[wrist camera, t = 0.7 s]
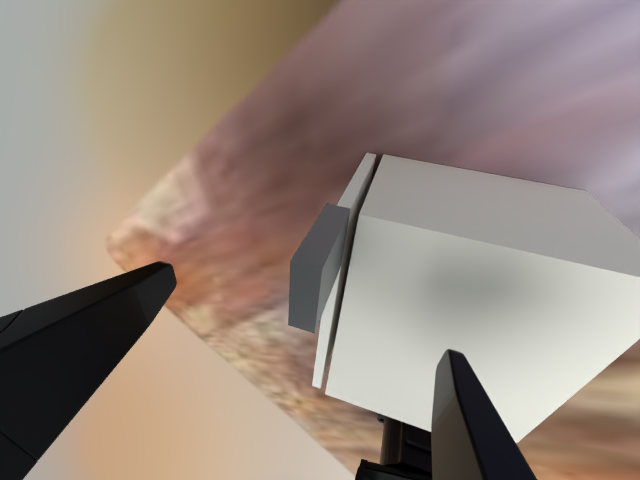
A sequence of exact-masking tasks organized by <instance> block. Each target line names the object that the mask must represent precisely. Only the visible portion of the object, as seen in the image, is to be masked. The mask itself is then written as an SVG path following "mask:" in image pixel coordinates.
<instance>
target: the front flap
mask: <svg viewBox="0 0 640 480" xmlns="http://www.w3.org/2000/svg"><path fill="white" fill-rule="evenodd" d="M375 159H376V154H371V153H366V155H365V156H364V158H363V160H362V162H361V163H360V165H359V167H358V169H357V170H356V172H355V174H354V176H353V177H352V179H351V181H350V183H349V184H348V186H347V188H346V190H345V191H344V193H343V195H342V197H341V198H340V200H339V202H338V204H337V205H332V204H328V203H327V204H326V206H325V207H324V209H323V211H322V212H321V214H320V215H319V217H318V218H317V220H316V222H315V223H314V225H313V226H312V228H311V229H310V231H309V232H308V234H307V236H306V237H305V239H304V240H303V242H302V243H301V245H300V247H299V248H298V250H297V251H296V253H295V254H294V256H293V258H292V259H291V261H290V290H289V319H288V325H290V326H293V327H296V328H300V329H303V330H306V331H309V332H312V333H315V331H316V329H317V326H318V323H319V321H320V318H321V324H320V331H319V338H318V346H317V353H316V361H315V368H314V376H313V383H312V386H315V387H317V388H320V389H321V385H322V382H323V379H324V376H325V373H326V369H327V366H328V363H329V360H330V357H331V353H332V350H333V347H334V344H335V339H336V334H337V328H338V323H339V318H340V313H341V307H342V302H343V297H344V291H345V286H346V281H347V276H348V270H349V265H350V260H351V254H352V249H353V244H354V239H355V233H356V228H357V223H358V217H359V213H360V211H361V208H362V206H363V203H364V201H365V198H366V196H367V194H368V191H369V189H370V184H371V179H372V174H373V169H374V164H375Z"/></svg>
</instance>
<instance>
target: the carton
mask: <svg viewBox="0 0 640 480" xmlns="http://www.w3.org/2000/svg"><path fill="white" fill-rule="evenodd" d="M639 339H640V239H639V238H638V237H637V236H636V235H635V234H634V233H632V232H631V231H630V230H629V229H628V228H627V227H626V226H625V225H624V224H622V223H621V222H620V221H619V220H618V219H617V218H616V217H615V216H613V215H612V214H611V213H610V212H609V211H608V210H607V209H606V208H605V207H603V206H602V205H601V204H600V203H599V202H598V201H597V200H596V199H594V198H593V197H592V196H591V195H590V194H589V193H588V192H587V191H584V190H578V189H573V188H567V187H562V186H556V185H550V184H545V183H539V182H534V181H528V180H523V179H517V178H512V177H506V176H500V175H495V174H489V173H484V172H478V171H473V170H467V169H462V168H456V167H451V166H445V165H439V164H434V163H428V162H423V161H417V160H412V159H406V158H401V157H395V156H390V155H384V154H383V157H382V159H381V161H380V164H379V166H378V169H377V171H376V174H375V176H374V179H373V181H372V184H371V186H370V189H369V191H368V194H367V196H366V198H365V201H364V203H363V206H362V208H361V211H360V213H359V217H358V223H357V228H356V233H355V239H354V244H353V249H352V254H351V260H350V265H349V270H348V276H347V281H346V286H345V291H344V297H343V302H342V307H341V313H340V318H339V323H338V328H337V334H336V339H335V344H334V350H333V355H332V360H331V365H330V371H329V376H328V381H327V387H326V392H325V394H326V395H329V396H332V397H335V398H337V399H340V400H343V401H346V402H349V403H351V404H354V405H357V406H360V407H363V408H365V409H368V410H371V411H374V412H377V413H379V414H382V415H385V416H388V417H390V418H393V419H396V420H399V421H402V422H404V423H407V424H410V425H413V426H416V427H418V428H421V429H424V430H427V431H430V432H431V423H432V410H433V397H434V385H435V373H436V368H437V365H438V363H439V361H440V359H441V358H442V356H443V354H444V353H445V351H446V350H447V349H452V350H455V351H459V352H461V353H463V354H464V355H465V357H466V358H467V360H468V362H469V364H470V365H471V367H472V369H473V370H474V372H475V374H476V376H477V377H478V379H479V381H480V382H481V384H482V386H483V388H484V389H485V391H486V393H487V395H488V396H489V398H490V400H491V401H492V403H493V405H494V407H495V408H496V410H497V412H498V413H499V415H500V417H501V419H502V420H503V422H504V424H505V425H506V427H507V429H508V431H509V432H510V434H511V436H512V437H513V439H514V441H515V443H517V442H519V441H520V440H521V439H522V438H523V437H524V436H526V435H527V434H528V433H529V432H530V431H532V430H533V429H534V428H535V427H536V426H537V425H539V424H540V423H541V422H542V421H543V420H544V419H546V418H547V417H548V416H549V415H550V414H552V413H553V412H554V411H555V410H556V409H557V408H559V407H560V406H561V405H562V404H563V403H564V402H566V401H567V400H568V399H569V398H570V397H572V396H573V395H574V394H575V393H576V392H577V391H579V390H580V389H581V388H582V387H583V386H584V385H586V384H587V383H588V382H589V381H590V380H592V379H593V378H594V377H595V376H596V375H597V374H599V373H600V372H601V371H602V370H603V369H605V368H606V367H607V366H608V365H609V364H610V363H612V362H613V361H614V360H615V359H616V358H617V357H619V356H620V355H621V354H622V353H623V352H625V351H626V350H627V349H628V348H629V347H630V346H632V345H633V344H634V343H635V342H636V341H637V340H639Z"/></svg>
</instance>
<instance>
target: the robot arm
mask: <svg viewBox="0 0 640 480" xmlns="http://www.w3.org/2000/svg"><path fill="white" fill-rule="evenodd" d="M176 284H177V281H176V277H175V273H174V269H173V266H172V265H171V264H169V263H166V262H163V261H158V262H155V263H152V264H149V265H146V266H144V267H141V268H138V269H135V270H132V271H130V272H127V273H124V274H121V275H118V276H115V277H113V278H110V279H107V280H104V281H101V282H99V283H96V284H93V285H90V286H88V287H84V288H82V289H79V290H76V291H73V292H70V293H68V294H65V295H62V296H59V297H57V298H54V299H51V300H48V301H45V302H42V303H40V304H37V305H34V306H31V307H28V308H26V309H24V310H20V311H17V312H14V313H11V314H9V315H6V316H3V317H0V480H23V479H24V477H25V476H26V475H27V474H28V473H29V471H30V470H31V469H32V468H33V466H34V465H35V464H36V463H37V461H38V460H39V459H40V457H42V455H43V454H44V453H45V452H46V450H47V449H48V448H49V447H50V446H51V444H52V443H53V442H54V441H55V440H56V438H57V437H58V436H59V435H60V433H61V432H62V431H63V430H64V429H65V427H66V426H67V425H68V424H69V422H70V421H71V420H72V419H73V418H74V417H75V415H76V414H77V413H78V412H79V411H80V409H81V408H82V407H83V406H84V404H85V403H86V402H87V401H88V400H89V398H90V397H91V396H92V395H93V394H94V392H95V391H96V390H97V389H98V388H99V386H100V385H101V384H102V383H103V381H104V380H105V379H106V378H107V377H108V375H109V374H110V373H111V372H112V371H113V369H114V368H115V367H116V366H117V364H118V363H119V362H120V361H121V359H123V357H124V356H125V355H126V354H127V352H128V351H129V350H130V349H131V348H132V346H133V345H134V344H135V343H136V342H137V340H138V339H139V338H140V337H141V336H142V334H143V333H144V332H145V331H146V329H147V328H148V327H149V325H150V324H151V323H152V321H153V320H154V318H155V317H156V315H157V314H158V313H159V311H160V310H161V308H162V307H163V305H164V304H165V302H166V301H167V299H168V298H169V296H170V295H171V293H172V292H173V290H174V289H175V287H176ZM378 421H380V422H382V423H384V430H383V439H382V448H381V457H380V464H377V463H372V462H368V461H367V460H364V459H361V463H360V466H359V468H358V470H357V474H356V477H355V480H537V479H536V477H535V475H534V473H533V472H532V470H531V468H530V467H529V465H528V463H527V461H526V460H525V458H524V456H523V455H522V453H521V451H520V449H519V448H518V446H517V444H516V443H515V441H514V439H513V437H512V436H511V434H510V432H509V431H508V429H507V427H506V425H505V424H504V422H503V420H502V419H501V417H500V415H499V413H498V412H497V410H496V408H495V407H494V405H493V403H492V401H491V400H490V398H489V396H488V395H487V393H486V391H485V389H484V388H483V386H482V384H481V382H480V381H479V379H478V377H477V376H476V374H475V372H474V370H473V369H472V367H471V365H470V364H469V362H468V360H467V358H466V357H465V355H464V354H463V353H461V352H459V351H455V350H452V349H447V350H446V351H445V353H444V354H443V356H442V358H441V359H440V361H439V363H438V365H437V368H436V373H435V385H434V397H433V410H432V423H431V432H430V431H427V430H424V429H421V428H418V427H416V426H413V425H410V424H407V423H404V422H402V421H399V420H396V419H393V418H390V417H388V416H385V415H382V414H378Z"/></svg>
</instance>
